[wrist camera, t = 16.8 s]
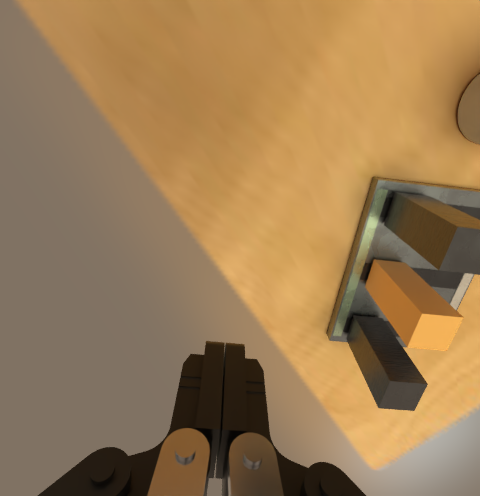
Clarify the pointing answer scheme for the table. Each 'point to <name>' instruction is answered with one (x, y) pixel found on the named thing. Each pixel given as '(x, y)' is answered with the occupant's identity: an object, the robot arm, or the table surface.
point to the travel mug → (470, 111)
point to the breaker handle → (412, 306)
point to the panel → (416, 257)
